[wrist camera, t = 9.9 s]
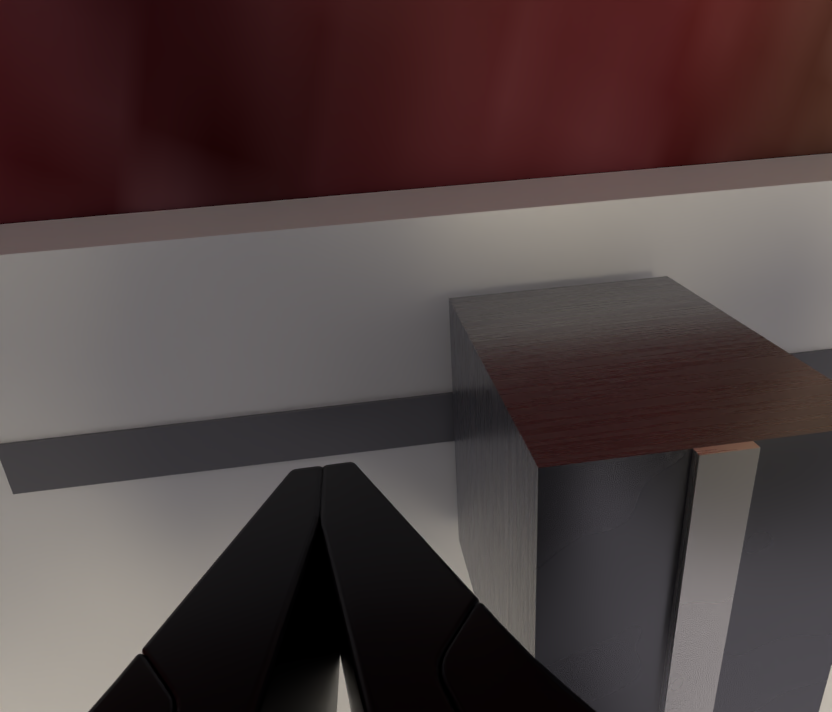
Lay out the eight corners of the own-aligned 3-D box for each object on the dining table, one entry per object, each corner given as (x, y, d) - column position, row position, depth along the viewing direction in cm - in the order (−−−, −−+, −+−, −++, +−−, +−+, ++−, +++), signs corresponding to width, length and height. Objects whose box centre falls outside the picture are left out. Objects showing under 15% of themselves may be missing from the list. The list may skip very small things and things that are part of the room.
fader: (643, 515, 11) (814, 759, 7) (458, 540, 10) (534, 807, 7) (666, 276, 9) (907, 428, 5) (448, 297, 9) (541, 475, 5)
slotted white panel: (942, 777, 19) (1009, 855, 17) (161, 918, 17) (141, 1024, 15) (1213, 120, 12) (1382, 132, 10) (-107, 233, 10) (-209, 274, 8)
